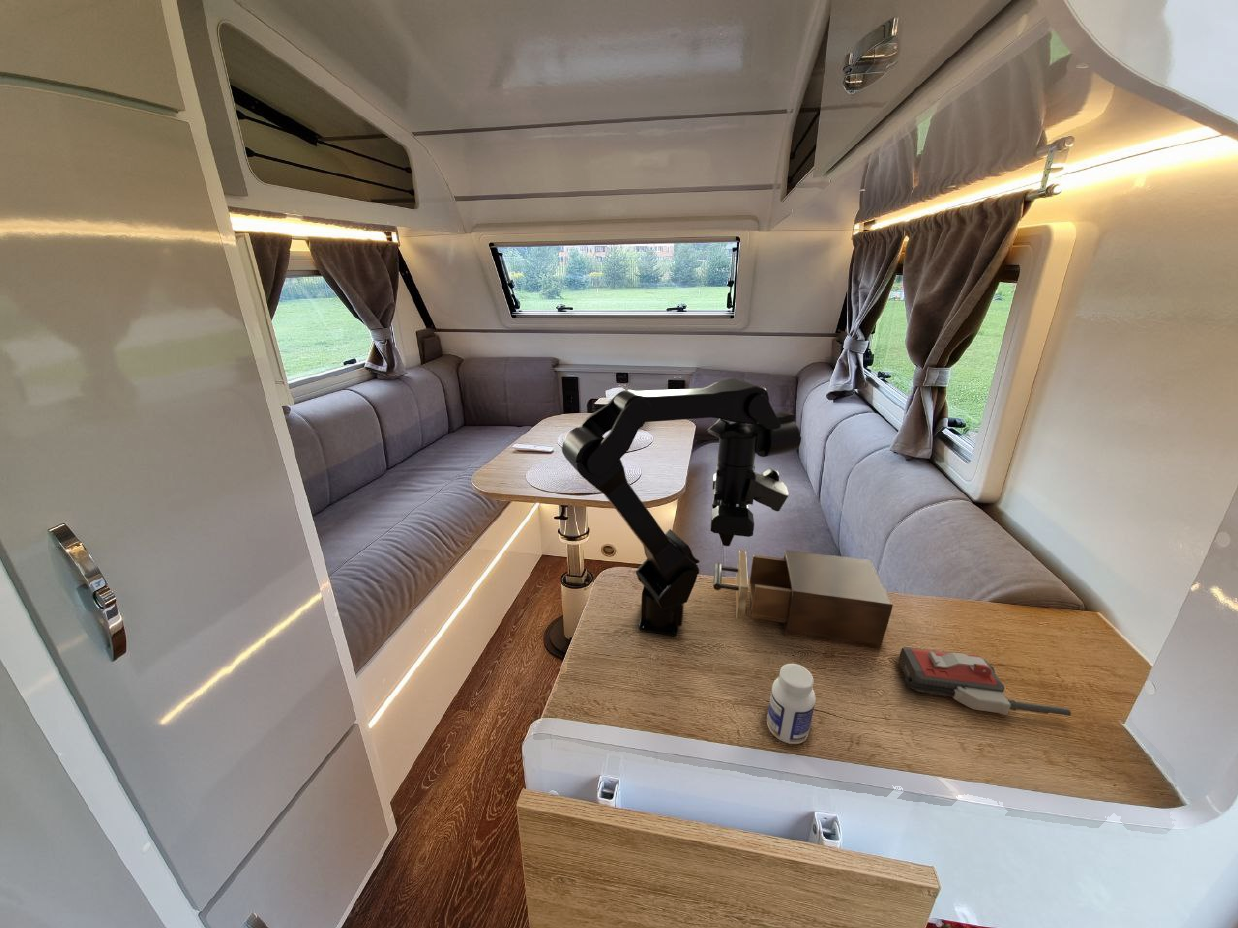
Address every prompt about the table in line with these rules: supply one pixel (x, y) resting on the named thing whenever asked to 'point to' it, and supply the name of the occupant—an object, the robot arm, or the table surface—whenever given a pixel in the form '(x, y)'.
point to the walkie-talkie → (962, 681)
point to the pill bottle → (791, 704)
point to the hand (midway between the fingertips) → (726, 545)
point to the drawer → (759, 587)
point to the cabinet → (836, 599)
